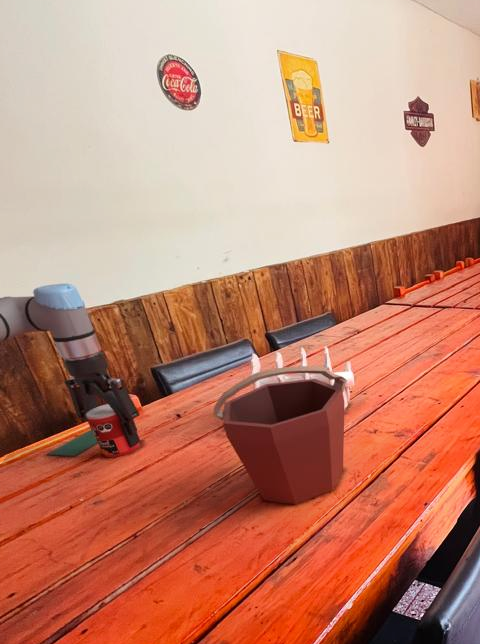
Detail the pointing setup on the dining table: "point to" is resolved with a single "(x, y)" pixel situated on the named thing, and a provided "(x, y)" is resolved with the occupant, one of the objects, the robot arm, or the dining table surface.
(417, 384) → the dining table surface
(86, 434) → the edge mat
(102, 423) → the canned food
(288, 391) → the bucket
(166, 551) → the dining table surface
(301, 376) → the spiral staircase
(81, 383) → the robot arm
